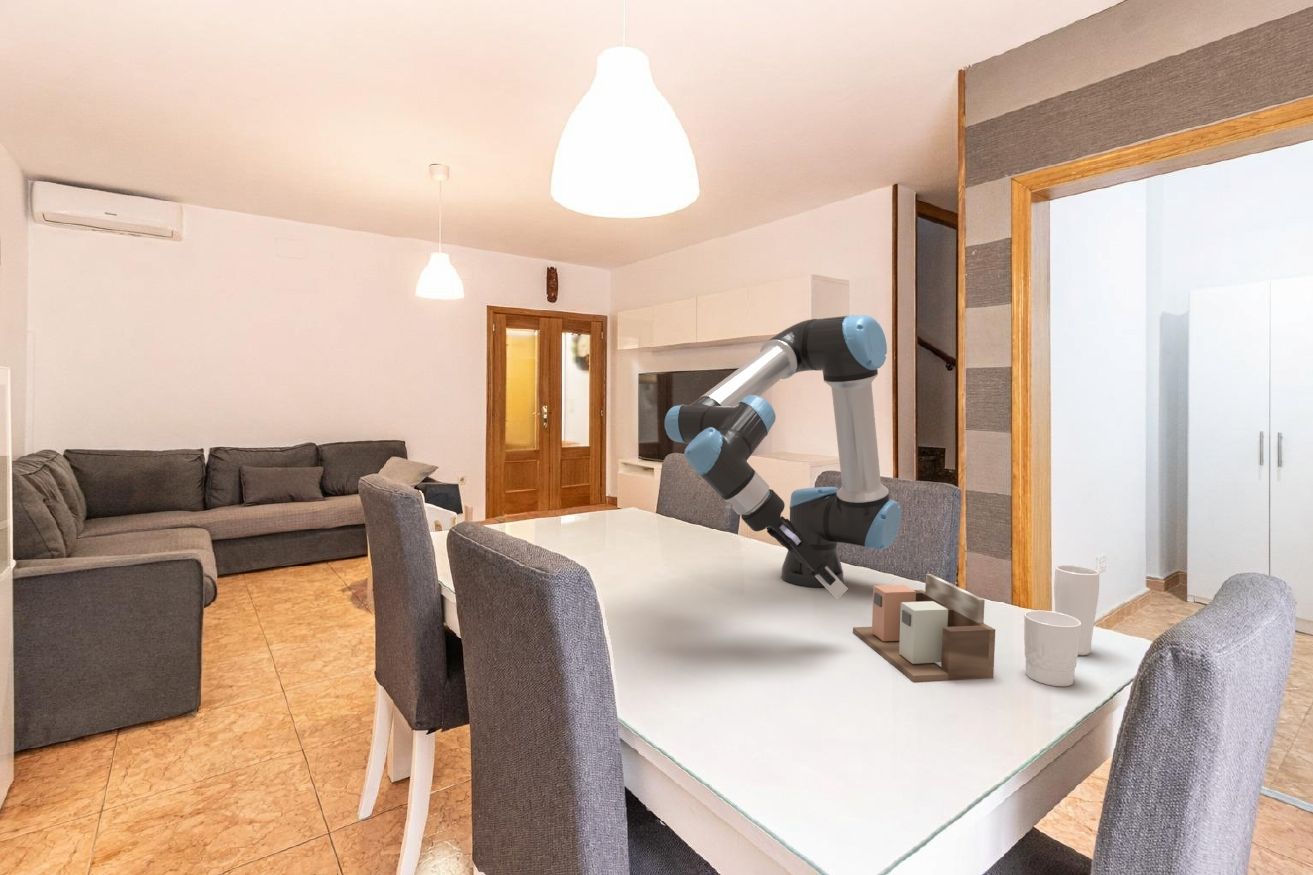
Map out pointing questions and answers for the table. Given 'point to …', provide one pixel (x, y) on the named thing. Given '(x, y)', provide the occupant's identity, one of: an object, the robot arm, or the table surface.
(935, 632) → the cream rectangular block
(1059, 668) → the white cup
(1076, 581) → the drinking glass
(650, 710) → the table surface
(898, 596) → the peach rectangular block
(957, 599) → the wooden rack
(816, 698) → the table surface
